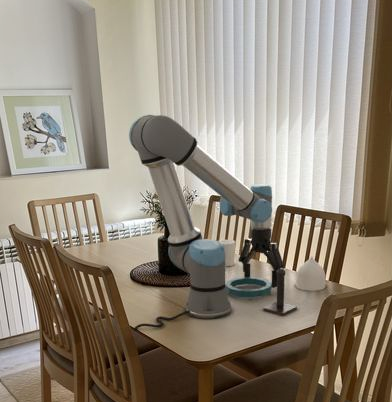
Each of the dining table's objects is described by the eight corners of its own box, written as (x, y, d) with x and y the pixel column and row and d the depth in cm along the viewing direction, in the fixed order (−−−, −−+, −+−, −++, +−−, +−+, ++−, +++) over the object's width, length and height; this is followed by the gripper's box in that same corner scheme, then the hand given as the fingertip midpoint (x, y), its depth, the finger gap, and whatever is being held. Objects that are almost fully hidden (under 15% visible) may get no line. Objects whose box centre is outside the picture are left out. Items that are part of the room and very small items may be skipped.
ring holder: (283, 316, 179) (284, 273, 174) (263, 310, 184) (263, 269, 179) (296, 309, 184) (298, 267, 179) (277, 304, 189) (278, 263, 184)
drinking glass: (238, 263, 239) (238, 240, 235) (229, 267, 232) (229, 244, 229) (223, 261, 243) (222, 238, 239) (214, 265, 236) (213, 242, 233)
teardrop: (315, 280, 213) (317, 250, 209) (331, 288, 203) (332, 257, 199) (290, 283, 210) (291, 253, 206) (304, 292, 200) (305, 260, 196)
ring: (252, 300, 191) (252, 294, 190) (216, 291, 202) (216, 284, 201) (280, 288, 202) (280, 282, 201) (245, 280, 213) (245, 274, 212)
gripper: (295, 229, 194) (293, 287, 201) (241, 222, 210) (241, 275, 218) (282, 233, 189) (281, 292, 196) (228, 225, 205) (229, 280, 212)
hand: (260, 283), depth 207 cm, fingers closed on ring, 12 cm apart
